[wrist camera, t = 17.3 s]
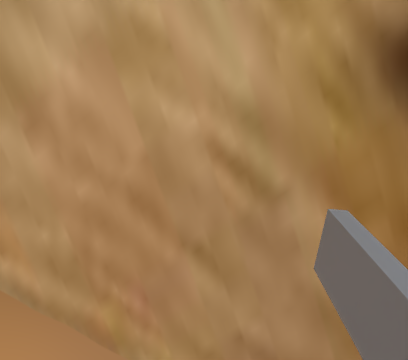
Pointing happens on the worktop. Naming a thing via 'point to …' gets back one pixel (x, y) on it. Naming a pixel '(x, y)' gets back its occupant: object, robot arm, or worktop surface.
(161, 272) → the worktop surface
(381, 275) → the robot arm
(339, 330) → the worktop surface
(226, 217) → the worktop surface
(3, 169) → the worktop surface
